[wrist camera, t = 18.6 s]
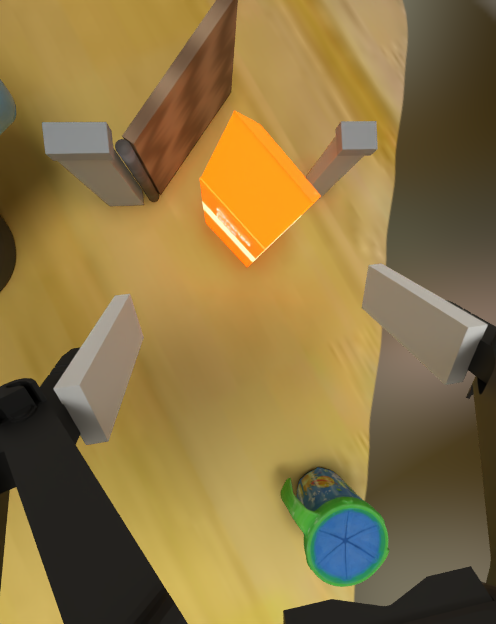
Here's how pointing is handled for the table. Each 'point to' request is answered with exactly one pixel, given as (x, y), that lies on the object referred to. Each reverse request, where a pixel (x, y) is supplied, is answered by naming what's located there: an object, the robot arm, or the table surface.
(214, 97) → the gate
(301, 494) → the snack cup
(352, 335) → the table surface
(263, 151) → the orange juice
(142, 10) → the table surface
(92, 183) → the grey rectangular posts
